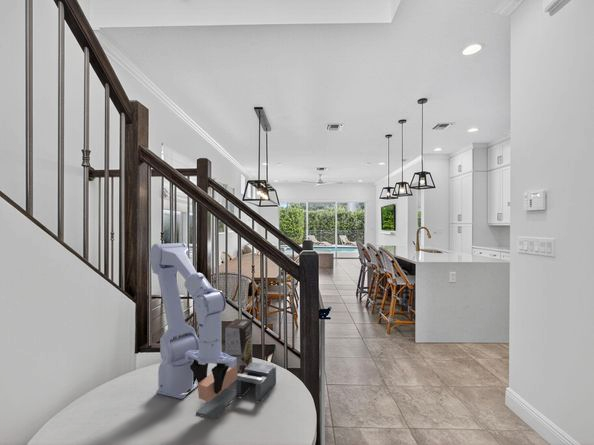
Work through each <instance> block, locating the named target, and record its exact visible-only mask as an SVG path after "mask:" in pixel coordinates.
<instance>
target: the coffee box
mask: <svg viewBox="0 0 594 445" xmlns="http://www.w3.org/2000/svg"><path fill="white" fill-rule="evenodd" d="M224 334H225V335H224V336H225V337H224V338H225V340H224V345H225V346H224V347H225V348H224V349H225V350H224V353H225V354H227V355H230V356H232V357H236V358H237V374H243V373H244V369H245V368H246V367H247V366H248V365H249V364H250V363H253V319H247V318H246V319H244V318H235V319H234V320H232V321H231V322H230V323H229V324H228V325H226V326H225V333H224Z"/></svg>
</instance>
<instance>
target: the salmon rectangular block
mask: <svg viewBox="0 0 594 445" xmlns="http://www.w3.org/2000/svg"><path fill="white" fill-rule="evenodd" d="M236 379H238V375H237V365H236V366H235V367H233V368H228V370H227V372H226V375H225V377H224V381H223V385H222V390H221V391H220V392H222V391H223V390H224V389H225V388H226V389H228V387H230V385H232V384H233V383H234V382H236ZM196 383H197V386H198V387H197V394H198V399H199V400H202V401H204V402H209V401H210V400H212V399H213V398H214V397H215V396H217V395H218V394H219V393H220V392H219V393H218V394H216V393H215V390H214V377H213V373H212V372H211V373H210V374H209V375H207V377H206V378H205V379H203V380H202V381H200V382H199V383H198V382H196Z"/></svg>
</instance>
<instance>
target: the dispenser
mask: <svg viewBox="0 0 594 445" xmlns="http://www.w3.org/2000/svg"><path fill="white" fill-rule="evenodd" d="M237 375H238V379H236V380H235V386H236V387H235V390H236V398H238V397H244V395H245V394H246V393H247V392H248V391H249V390H250V388H252V386H253V385H255V402H256V401H258V402H257V403H262V401H263V400H264V399H265V397H267V395H268V394H269V392H270V391H271V389H273V387H274V386H275V384H276V383H277V365H270V364H266V363H259V362H252V363H250V364H249V365H248V366H247V367H246V368H245V369H244V373H243V374H237ZM248 389H249V390H248ZM247 390H248V391H247ZM246 391H247V392H246ZM245 392H246V393H245ZM243 394H244V395H243Z"/></svg>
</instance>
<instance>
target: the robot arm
mask: <svg viewBox="0 0 594 445" xmlns="http://www.w3.org/2000/svg"><path fill="white" fill-rule="evenodd" d="M189 255H190V251H189V247H188V246H187V244H186V243H185V242H183V241H181V242H173V243H171V242H170V243H153V245H152V246H151V248H150V252H149V262H150V266H151V269H152V273H153V274H155V275H157V277H158V283H159V288H160V293H161V299H162V304H163V308H164V309H163V310H164V315H165V320H166V324H167V329H166V330H165V332H164V333H163V334H162V336H161V337H160V339H159V343H160V344H159V346H160V347H159V348H160V349H159V352H160V353H159V354H160V358H161V362H160V363H159V367H158V372H157V373H158V375H157V376H158V378H157V379H158V389H157V390H156V394H159V395H164V396H167V397H171V398H176V399H180V400H181V399H182V400H183V399H184V398H186V397H187V396H188V395H187V394H185V395H180V394H182V393H184V392H187V391H188V390H189V389H191V388H192V387H193V382H195V384H194V388H193V389H194V390H195V389H197V388H198V387H197V383H199V382H200V381H202V380H203V379H205V378H206V377H207V376H208V369H209V364H214V365H215V366H214V367H212V368H211V374H212V373H213V377H214V390H215V393H216V394H218V393H219V392H220V391H221V390H222V385H223V381H224V377H225V375H226V372H227V370H228V368H233V367H235V366H236V365H237V358H236V357H232V356H230V355H227V354H225V352H223V351H222V350H223V349H222V348H223V347H222V312H224V311H225V309H226V307H227V300H226V296H225V294H224V292H223V291H222V290H220V289H217V288H214V287H213V286H212V285H211V283H210V282H209V280H208V279H207V278H206V276H205V275H204V274H203V273H201V272H197V270H196V269H195V267H194V265H193V264H192V261H191V260H190V257H189ZM177 272H178V273H179V274H180V275H181V276H182V277H183V278H184V279H185V281H184V287H185V289H186V291H187V292H188V293H189V295H190V297H191V298H192V300H193V302H194V303H193V308H194V312H195V315H196V322H197V323H198V335H197V333H196V329H195V327H192V326H191V325H188V324H187V323H186V319H185V315H184V310H183V305H182V301H181V295H180V290H179V286H178V281H177V275H176V274H177ZM172 338H173V339H172ZM194 377H195V379H196V381H194ZM193 389H192V390H193ZM194 390H193V391H194ZM186 395H187V396H186Z"/></svg>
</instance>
